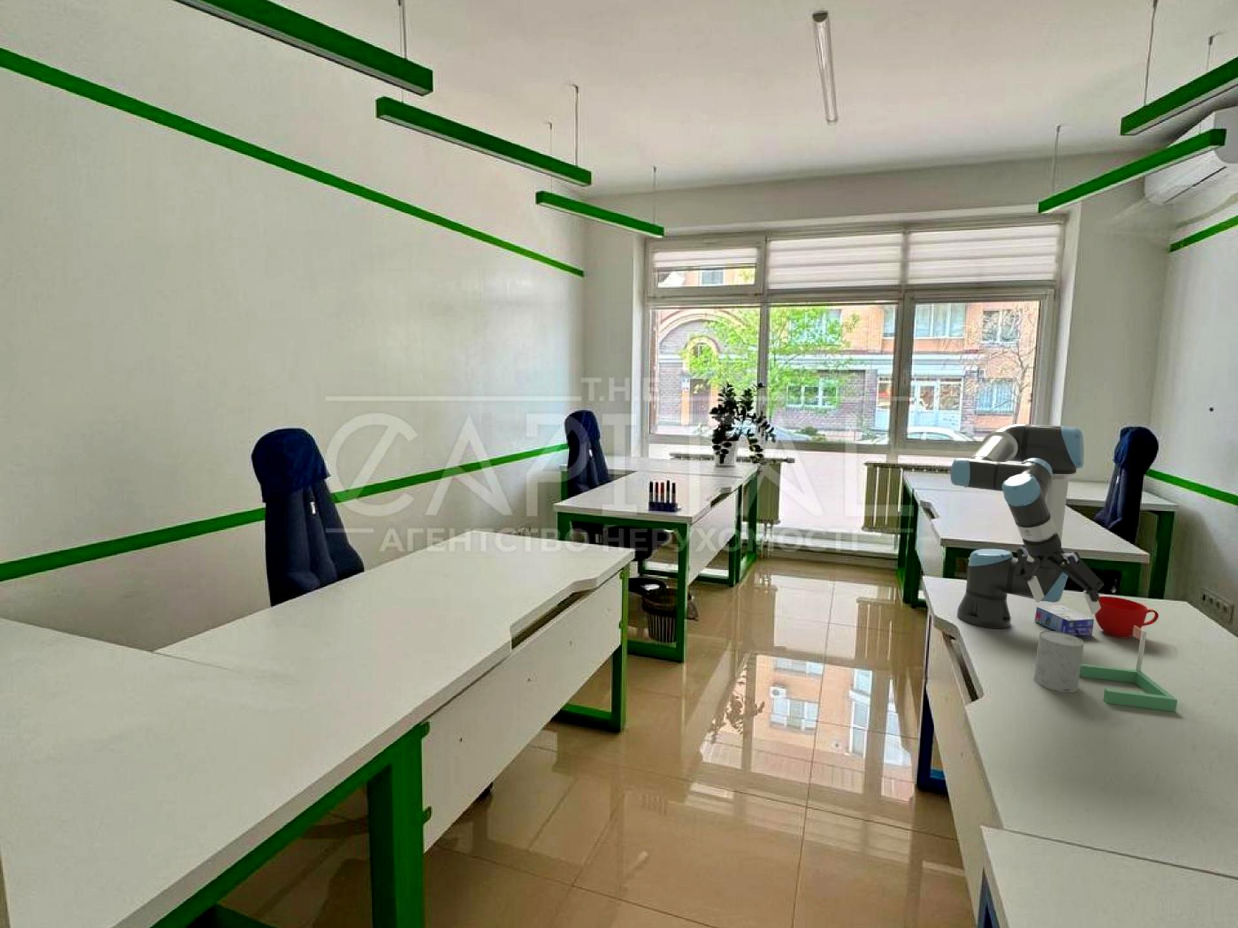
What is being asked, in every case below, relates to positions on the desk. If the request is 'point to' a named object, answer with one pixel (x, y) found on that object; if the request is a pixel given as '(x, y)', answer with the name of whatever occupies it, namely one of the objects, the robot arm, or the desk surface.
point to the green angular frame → (1155, 693)
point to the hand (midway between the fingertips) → (1067, 604)
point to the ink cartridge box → (1064, 620)
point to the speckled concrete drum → (1058, 661)
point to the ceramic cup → (1121, 616)
